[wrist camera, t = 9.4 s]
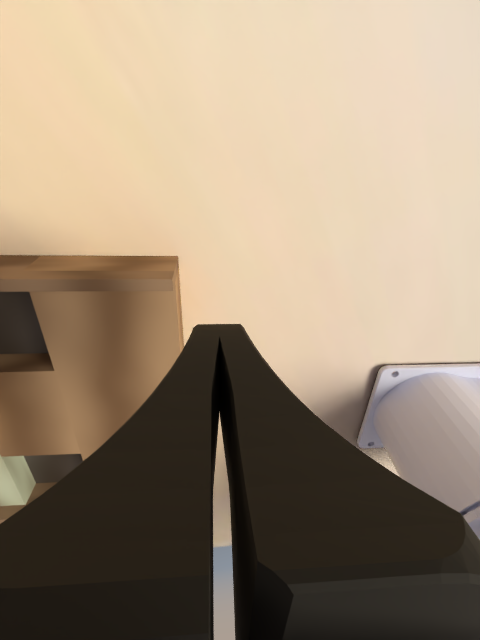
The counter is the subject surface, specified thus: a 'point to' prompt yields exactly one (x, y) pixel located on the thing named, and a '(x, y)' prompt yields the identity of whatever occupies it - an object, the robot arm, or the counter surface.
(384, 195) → the counter surface
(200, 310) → the counter surface
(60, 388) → the box
